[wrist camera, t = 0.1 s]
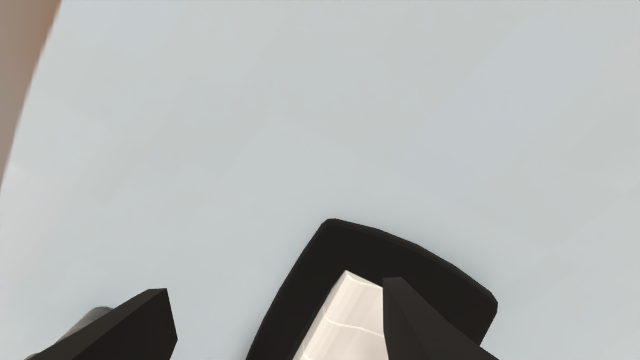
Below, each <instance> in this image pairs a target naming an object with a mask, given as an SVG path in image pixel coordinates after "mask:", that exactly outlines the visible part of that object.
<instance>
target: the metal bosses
mask: <svg viewBox="0 0 640 360" xmlns="http://www.w3.org/2000/svg"><path fill="white" fill-rule="evenodd" d="M111 310H113V309H112V308H109V307H96V308H94V309H92V310H91V311H89V312H88V313H87V314H86V315H85V316H84V317H83V318H82V319H81V320H80V321H79V322H78V323H76V324H75V325H74V326H73V327H72V328H71V329H70V330H69V331H68V332H67V333H66V334H65V335H63V336H62V337H61V338H60V339H59V340H58V341H57V342H59V341H61V340H63V339H64V338H66V337H68V336H70V335H71V334H73V333H75V332H77V331H78V330H80V329H82V328H83V327H85V326H87V325H88V324H90V323H92V322H93V321H95V320H97V319H98V318H100V317H101V316H103V315H105V314H106V313H108V312H110V311H111ZM57 342H56V343H57ZM56 343H55V344H56ZM36 354H38V353H35V354H32V355H30V356H28V357H27V358H26V359H24V360H27V359H29V358H31V357H33V356H34V355H36Z"/></svg>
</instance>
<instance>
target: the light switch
mask: <svg viewBox="0 0 640 360" xmlns="http://www.w3.org/2000/svg"><path fill="white" fill-rule="evenodd" d="M392 277H402V278H403V279H404V280H405V281H406V282H407V283H408V284H409V285H410V286H411V287H412V288H413V289H414V290H415V291H416V292H417V293H418V294H419V295H420V296H421V297H422V298H423V299H424V300H425V301H426V302H427V303H428V304H429V305H430V306H431V307H432V308H434V309H435V310H436V311H437V312H438V313H439V314H440V315H441V316H442V317H444V318H445V319H446V320H447V321H448V322H449V323H450V324H452V325H453V326H454V327H455V328H457V329H458V330H459V331H460V332H462V333H463V334H464V335H465V336H467V337H468V338H469V339H470V340H472V341H473V342H475V343H476V344H477V345H479V346H480V344H481V342H482V340H483V338H484V336H485V335H486V333H487V331H488V329H489V327H490V325H491V323H492V321H493V319H494V317H495V315H496V313H497V307H498V302H497V300H496V299H495V297H494V296H493V295H492V293H491V292H490V291H489V290H487V289H486V288H485V287H483V286H482V285H481V284H479V283H478V282H476V281H475V280H474V279H472V278H471V277H470V276H468V275H467V274H466V273H464V272H463V271H462V270H460V269H459V268H457V267H456V266H454V265H453V264H451V263H449V262H447V261H446V260H444V259H442V258H440V257H438V256H437V255H435V254H433V253H431V252H430V251H428V250H426V249H424V248H423V247H421V246H419V245H417V244H415V243H412V242H410V241H407V240H405V239H402V238H400V237H397V236H395V235H392V234H390V233H387V232H384V231H382V230H379V229H376V228H372V227H368V226H364V225H360V224H356V223H352V222H347V221H343V220H339V219H327V220H326V221H325V222H323V223H322V224H321V226H320V227H319V229H318V230H317V232H316V233H315V234H314V236H313V237H312V239H311V240H310V242H309V243H308V244H307V246H306V247H305V249H304V250H303V251H302V253H301V255H300V256H299V258H298V260H297V261H296V263H295V264H294V266H293V268H292V269H291V271H290V273H289V274H288V276H287V278H286V279H285V281H284V282H283V284H282V286H281V287H280V289H279V291H278V293H277V295H276V296H275V298H274V300H273V302H272V304H271V306H270V308H269V310H268V311H267V313H266V315H265V317H264V319H263V321H262V323H261V325H260V328H259V330H258V332H257V334H256V336H255V339H254V341H253V343H252V345H251V347H250V350H249V352H248V355H247V357H246V360H389V359H388V354H387V349H386V343H385V338H384V333H383V282H382V278H392Z"/></svg>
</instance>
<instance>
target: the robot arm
mask: <svg viewBox="0 0 640 360" xmlns="http://www.w3.org/2000/svg"><path fill="white" fill-rule="evenodd" d="M382 282H383V333H384V338H385V343H386V349H387V354H388V359H389V360H499V359H497V358H496V357H494V356H493V355H491V354H490V353H489V352H487V351H486V350H484V349H483V348H481V347H480V346H479V345H477V344H476V343H475V342H473V341H472V340H470V339H469V338H468V337H467V336H465V335H464V334H463V333H462V332H460V331H459V330H458V329H457V328H455V327H454V326H453V325H452V324H450V323H449V322H448V321H447V320H446V319H445V318H444V317H442V316H441V315H440V314H439V313H438V312H437V311H436V310H435V309H434V308H432V307H431V306H430V305H429V304H428V303H427V302H426V301H425V300H424V299H423V298H422V297H421V296H420V295H419V294H418V293H417V292H416V291H415V290H414V289H413V288H412V287H411V286H410V285H409V284H408V283H407V282H406V281H405V280H404V279H403V278H402V277H392V278H382ZM177 340H178V338H177V334H176V329H175V325H174V320H173V315H172V311H171V306H170V301H169V297H168V292H167V288H162V289H148V290H146V291H144V292H142V293H140V294H138V295H137V296H135V297H133V298H131V299H130V300H128V301H126V302H125V303H123V304H121V305H120V306H118V307H116V308H115V309H113V310H111V311H110V312H108V313H106V314H105V315H103V316H101V317H100V318H98V319H97V320H95V321H93V322H92V323H90V324H88V325H87V326H85V327H83V328H82V329H80V330H78V331H77V332H75V333H73V334H71V335H70V336H68V337H66V338H64V339H63V340H61V341H59V342H57V343H56V344H54V345H52V346H50V347H49V348H47V349H45V350H44V351H42V352H40V353H38V354H36V355H34V356H33V357H31V358H29V359H27V360H170V358H171V355H172V353H173V350H174V348H175V345H176V342H177Z"/></svg>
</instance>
